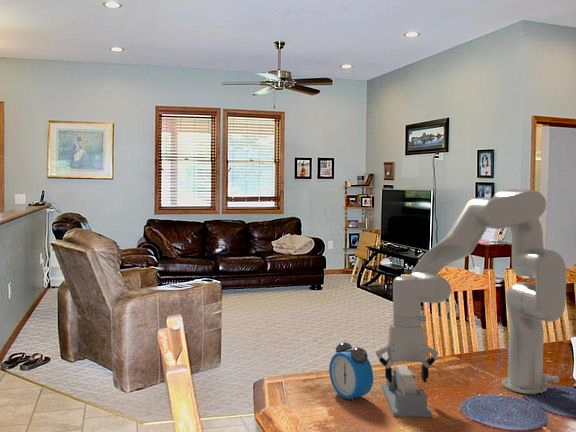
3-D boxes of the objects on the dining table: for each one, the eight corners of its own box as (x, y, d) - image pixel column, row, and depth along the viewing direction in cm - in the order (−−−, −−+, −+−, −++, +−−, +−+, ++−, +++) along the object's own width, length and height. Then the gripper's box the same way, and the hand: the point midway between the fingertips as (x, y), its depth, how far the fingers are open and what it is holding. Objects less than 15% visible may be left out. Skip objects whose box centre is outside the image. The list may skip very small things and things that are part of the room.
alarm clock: (328, 391, 162) (328, 341, 161) (344, 387, 166) (344, 338, 165) (357, 406, 151) (358, 352, 150) (374, 401, 155) (374, 349, 154)
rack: (415, 387, 165) (415, 369, 165) (431, 416, 145) (432, 396, 144) (382, 387, 166) (382, 369, 165) (393, 416, 145) (393, 396, 145)
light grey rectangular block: (405, 388, 162) (406, 365, 162) (415, 407, 148) (416, 382, 148) (395, 388, 162) (396, 365, 162) (404, 407, 148) (404, 382, 148)
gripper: (434, 317, 157) (434, 376, 158) (373, 317, 158) (374, 376, 159) (441, 324, 150) (441, 385, 151) (377, 324, 150) (377, 386, 151)
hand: (406, 380), depth 155 cm, fingers open, 9 cm apart
